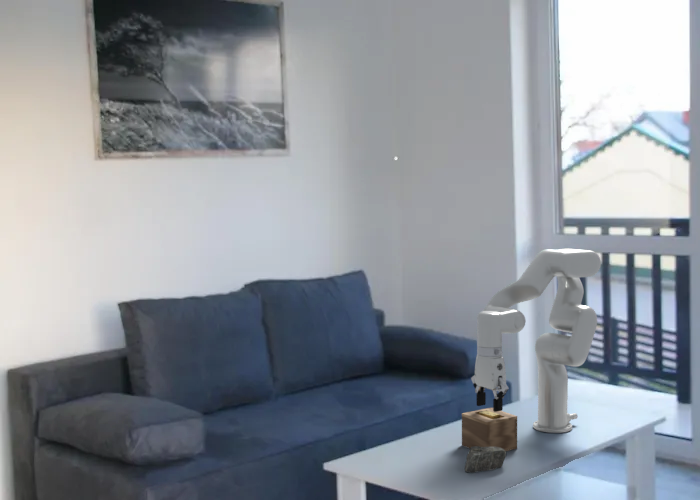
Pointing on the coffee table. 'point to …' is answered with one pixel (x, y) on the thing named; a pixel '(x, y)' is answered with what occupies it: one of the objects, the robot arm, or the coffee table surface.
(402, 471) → the coffee table surface
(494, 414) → the brushed brass block
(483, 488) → the coffee table surface
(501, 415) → the box
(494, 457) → the stone
